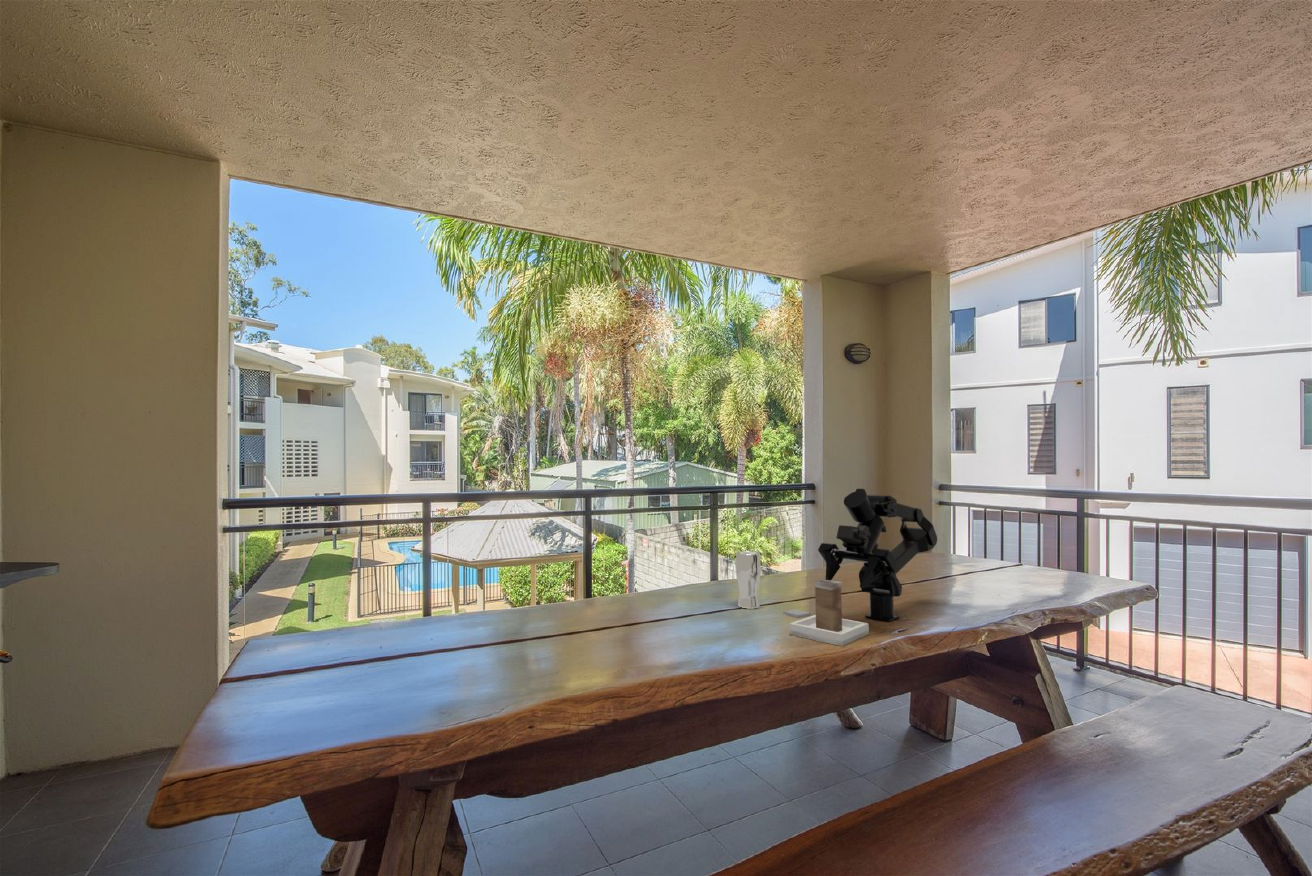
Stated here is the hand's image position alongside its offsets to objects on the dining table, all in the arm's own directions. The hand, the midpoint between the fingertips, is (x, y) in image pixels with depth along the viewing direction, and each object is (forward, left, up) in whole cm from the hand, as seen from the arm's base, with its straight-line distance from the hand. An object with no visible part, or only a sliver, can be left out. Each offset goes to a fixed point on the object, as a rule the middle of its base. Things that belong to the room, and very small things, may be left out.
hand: (843, 584), depth 138 cm
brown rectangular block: (+7, 0, -10) cm, 12 cm away
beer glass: (-4, -31, -11) cm, 33 cm away
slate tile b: (-5, -16, -11) cm, 20 cm away
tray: (+6, -1, -11) cm, 12 cm away
